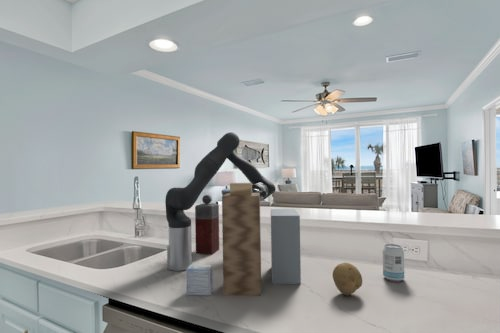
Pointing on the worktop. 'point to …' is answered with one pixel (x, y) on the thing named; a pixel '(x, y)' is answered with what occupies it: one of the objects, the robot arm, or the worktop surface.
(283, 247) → the short pedestal
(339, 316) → the worktop surface
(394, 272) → the beverage can
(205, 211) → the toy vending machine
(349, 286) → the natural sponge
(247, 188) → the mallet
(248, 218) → the tall pedestal
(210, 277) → the medicine box
